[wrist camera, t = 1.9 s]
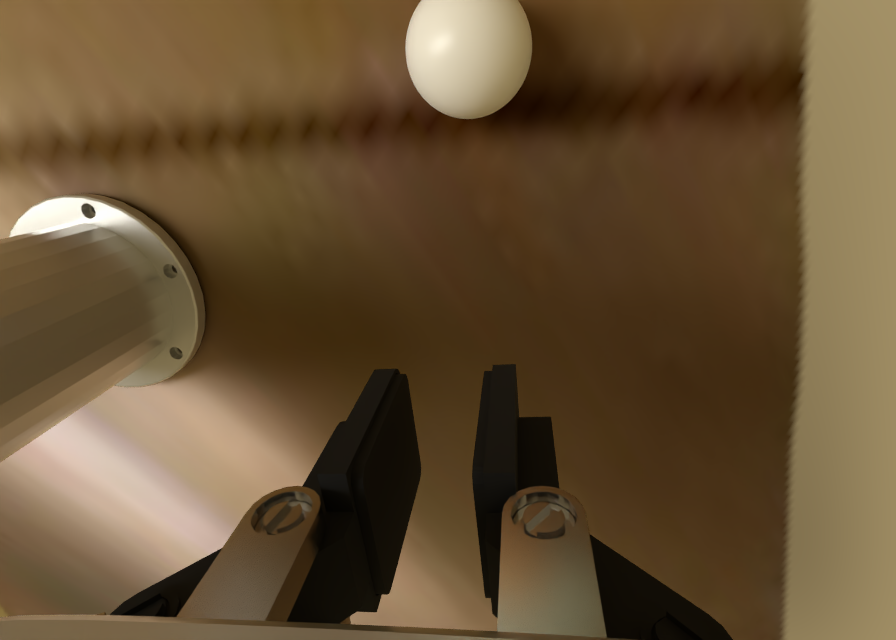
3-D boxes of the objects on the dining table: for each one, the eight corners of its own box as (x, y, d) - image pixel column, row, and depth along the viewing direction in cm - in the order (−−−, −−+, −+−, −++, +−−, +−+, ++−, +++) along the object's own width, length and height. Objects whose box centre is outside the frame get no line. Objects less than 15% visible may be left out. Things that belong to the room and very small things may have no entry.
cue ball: (442, 135, 26) (424, 140, 21) (400, 22, 24) (370, -2, 19) (545, 92, 25) (552, 87, 20) (509, -31, 23) (507, -71, 18)
